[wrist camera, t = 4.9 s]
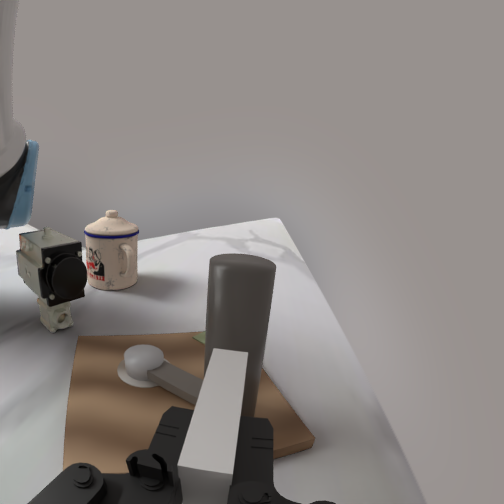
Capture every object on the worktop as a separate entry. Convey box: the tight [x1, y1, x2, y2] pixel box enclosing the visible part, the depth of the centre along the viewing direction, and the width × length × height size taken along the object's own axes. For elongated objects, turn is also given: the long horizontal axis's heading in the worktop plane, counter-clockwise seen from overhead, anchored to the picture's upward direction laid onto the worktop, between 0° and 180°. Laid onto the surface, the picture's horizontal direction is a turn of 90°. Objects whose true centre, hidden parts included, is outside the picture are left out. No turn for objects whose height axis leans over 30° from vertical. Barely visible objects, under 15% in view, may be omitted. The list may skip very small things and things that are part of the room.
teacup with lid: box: [84, 210, 139, 290], centre depth 46 cm, size 12×9×12 cm
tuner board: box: [63, 331, 315, 474], centre depth 25 cm, size 18×18×1 cm
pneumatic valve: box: [16, 227, 87, 333], centre depth 30 cm, size 6×12×12 cm, turn 59°
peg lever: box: [124, 254, 276, 417], centre depth 22 cm, size 13×4×12 cm, turn 62°
